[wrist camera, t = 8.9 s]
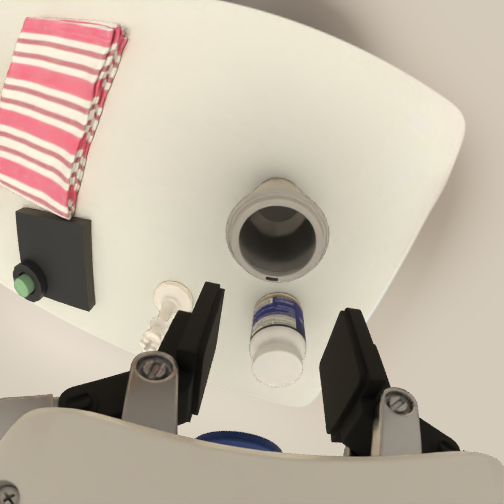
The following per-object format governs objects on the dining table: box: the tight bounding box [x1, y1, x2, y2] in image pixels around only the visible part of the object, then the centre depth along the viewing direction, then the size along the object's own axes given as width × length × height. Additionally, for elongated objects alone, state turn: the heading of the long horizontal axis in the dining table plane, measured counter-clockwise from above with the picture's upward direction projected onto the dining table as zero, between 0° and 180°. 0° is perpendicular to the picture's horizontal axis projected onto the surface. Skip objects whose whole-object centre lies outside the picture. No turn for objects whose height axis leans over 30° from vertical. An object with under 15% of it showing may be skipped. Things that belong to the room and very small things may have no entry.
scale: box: [13, 208, 95, 311], centre depth 35 cm, size 12×13×4 cm
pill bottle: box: [249, 293, 306, 387], centre depth 32 cm, size 6×6×10 cm
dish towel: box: [0, 17, 128, 220], centre depth 27 cm, size 17×23×4 cm
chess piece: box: [139, 281, 193, 352], centre depth 32 cm, size 5×5×10 cm
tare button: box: [14, 273, 35, 297], centre depth 34 cm, size 3×3×2 cm
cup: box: [226, 178, 329, 283], centre depth 26 cm, size 7×7×12 cm
